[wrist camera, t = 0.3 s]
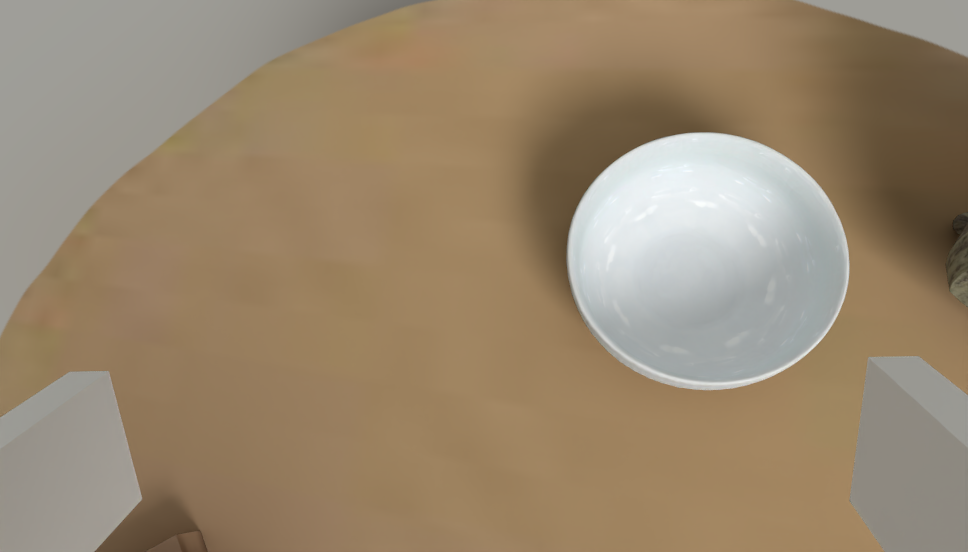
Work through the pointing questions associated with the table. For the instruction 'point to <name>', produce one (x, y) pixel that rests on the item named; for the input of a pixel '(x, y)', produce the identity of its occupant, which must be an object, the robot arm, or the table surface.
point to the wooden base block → (182, 543)
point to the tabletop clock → (959, 261)
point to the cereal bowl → (707, 261)
